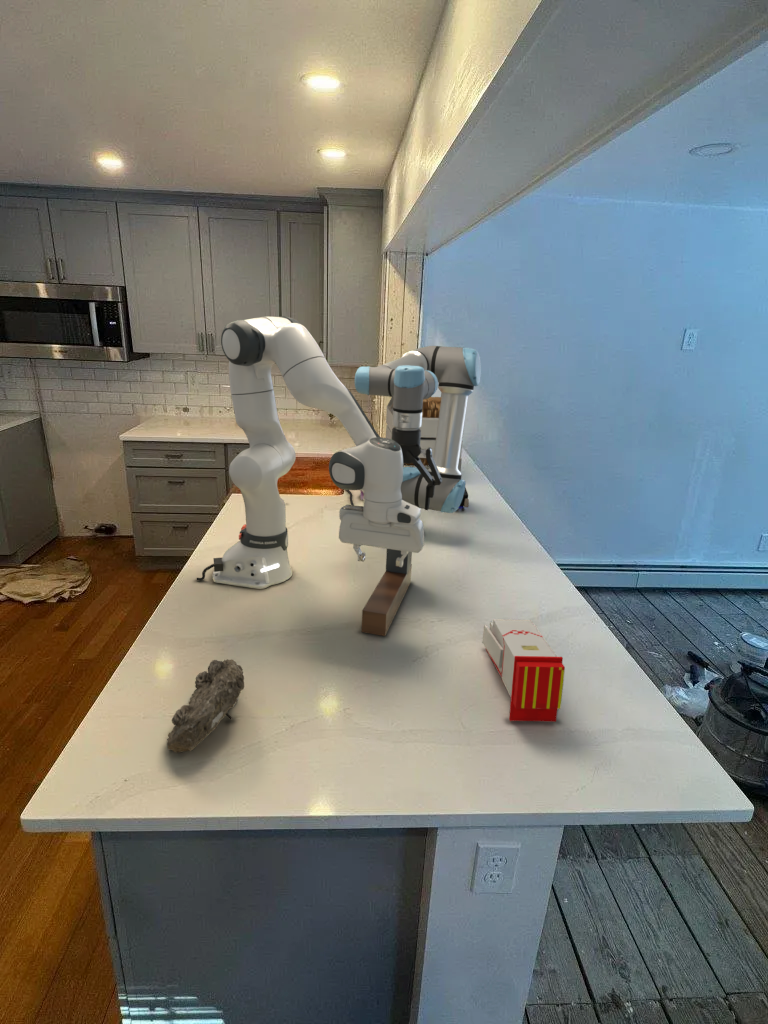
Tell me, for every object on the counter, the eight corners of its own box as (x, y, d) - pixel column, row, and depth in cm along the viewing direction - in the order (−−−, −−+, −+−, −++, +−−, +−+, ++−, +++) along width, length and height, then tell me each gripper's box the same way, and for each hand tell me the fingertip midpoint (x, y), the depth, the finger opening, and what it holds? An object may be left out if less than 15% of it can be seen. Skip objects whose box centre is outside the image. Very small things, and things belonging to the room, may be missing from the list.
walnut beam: (390, 579, 166) (391, 561, 164) (410, 582, 165) (411, 564, 163) (361, 632, 139) (362, 610, 137) (385, 636, 137) (386, 614, 135)
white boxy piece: (382, 463, 289) (386, 382, 275) (445, 464, 293) (451, 384, 279) (390, 482, 257) (394, 392, 243) (460, 483, 261) (468, 394, 247)
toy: (529, 604, 135) (573, 663, 106) (524, 656, 138) (566, 727, 109) (478, 603, 135) (509, 662, 105) (474, 655, 137) (503, 727, 108)
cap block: (390, 562, 163) (392, 530, 160) (411, 565, 162) (413, 532, 158) (385, 571, 158) (387, 537, 154) (406, 574, 156) (408, 540, 153)
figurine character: (468, 516, 224) (463, 500, 237) (471, 498, 221) (465, 483, 234) (452, 515, 224) (447, 499, 237) (453, 498, 220) (449, 482, 234)
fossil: (192, 660, 117) (244, 628, 112) (224, 691, 120) (276, 661, 115) (142, 746, 98) (202, 712, 93) (182, 779, 101) (242, 748, 96)
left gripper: (335, 507, 130) (334, 562, 135) (422, 518, 126) (418, 574, 130) (343, 499, 136) (343, 552, 141) (427, 509, 132) (423, 563, 136)
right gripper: (356, 426, 145) (354, 504, 153) (452, 435, 140) (445, 515, 147) (364, 420, 152) (361, 495, 159) (456, 429, 147) (449, 506, 154)
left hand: (380, 563), depth 136 cm, fingers open, 8 cm apart
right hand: (402, 505), depth 153 cm, fingers open, 13 cm apart
